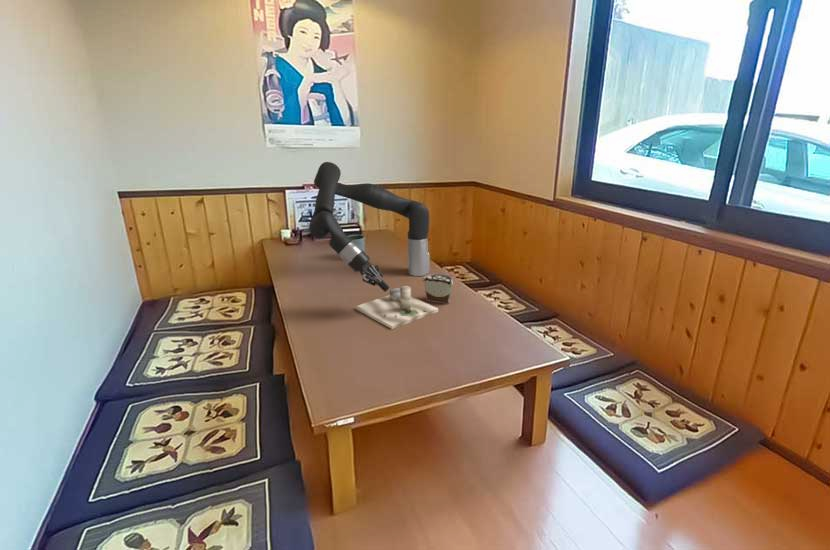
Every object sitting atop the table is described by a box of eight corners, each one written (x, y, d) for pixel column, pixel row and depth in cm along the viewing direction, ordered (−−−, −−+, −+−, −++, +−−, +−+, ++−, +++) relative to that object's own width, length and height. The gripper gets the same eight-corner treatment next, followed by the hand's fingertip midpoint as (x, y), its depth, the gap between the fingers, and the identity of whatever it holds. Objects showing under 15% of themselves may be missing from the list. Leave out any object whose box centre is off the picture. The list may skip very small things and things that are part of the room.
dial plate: (400, 294, 183) (400, 291, 183) (438, 311, 167) (438, 308, 166) (355, 309, 170) (355, 305, 169) (392, 329, 153) (391, 325, 153)
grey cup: (369, 258, 230) (368, 236, 226) (357, 263, 222) (356, 240, 218) (354, 255, 236) (353, 233, 232) (342, 260, 228) (340, 238, 224)
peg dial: (388, 296, 177) (387, 276, 175) (402, 294, 179) (401, 275, 176) (402, 314, 161) (401, 293, 158) (417, 311, 163) (417, 291, 160)
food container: (457, 298, 178) (457, 275, 174) (451, 304, 172) (452, 280, 169) (429, 294, 183) (429, 271, 179) (423, 299, 177) (422, 276, 174)
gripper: (354, 257, 170) (386, 289, 172) (341, 268, 158) (375, 302, 160) (366, 245, 167) (398, 277, 169) (354, 255, 155) (388, 290, 157)
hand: (387, 289), depth 164 cm, fingers closed
